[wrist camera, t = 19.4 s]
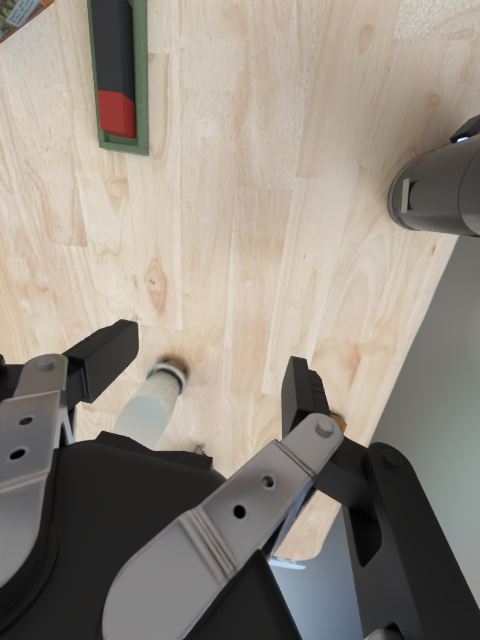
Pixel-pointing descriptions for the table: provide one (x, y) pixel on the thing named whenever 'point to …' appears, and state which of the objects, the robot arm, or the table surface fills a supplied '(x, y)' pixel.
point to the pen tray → (141, 86)
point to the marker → (115, 66)
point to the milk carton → (18, 14)
